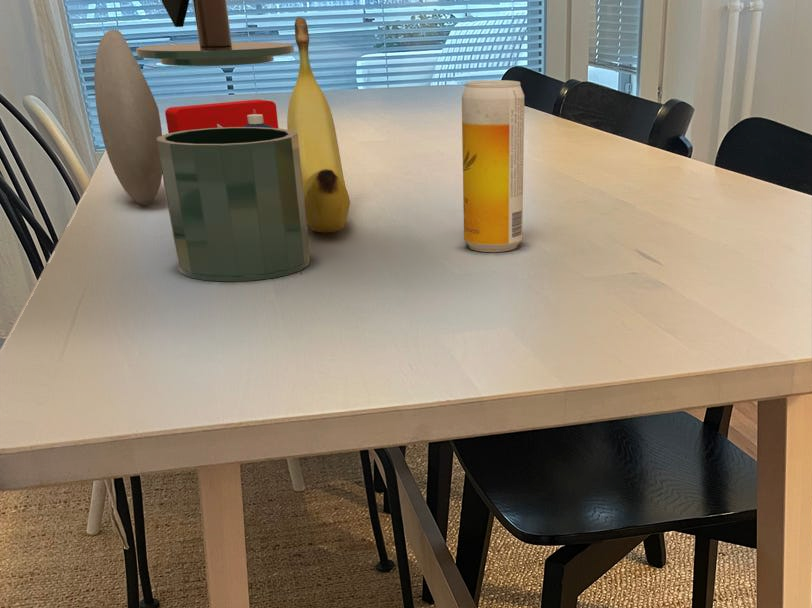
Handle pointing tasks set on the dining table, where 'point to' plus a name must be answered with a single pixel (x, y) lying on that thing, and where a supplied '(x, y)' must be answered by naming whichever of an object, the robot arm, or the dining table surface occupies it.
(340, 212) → the banana
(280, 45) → the jar lid
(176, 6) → the robot arm
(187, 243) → the storage jar
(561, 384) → the dining table surface
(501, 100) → the beer can
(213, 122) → the play button
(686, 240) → the dining table surface
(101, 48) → the grey-brown flattened oval
